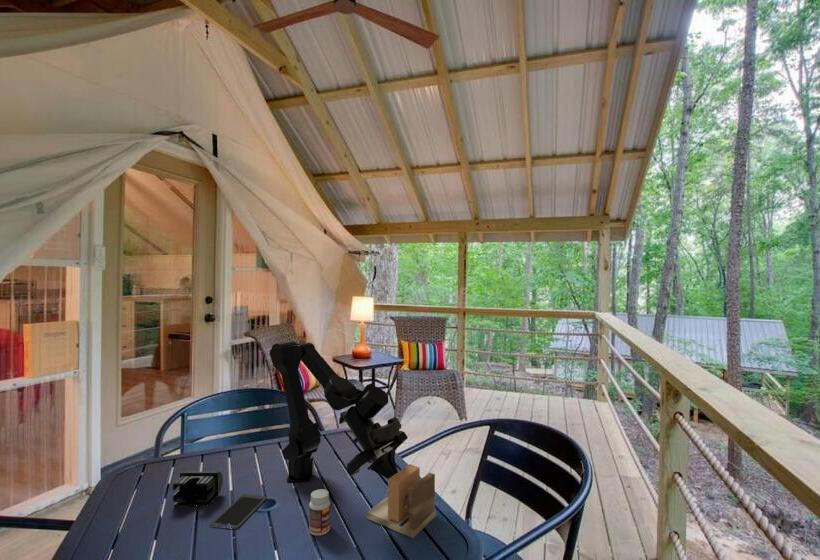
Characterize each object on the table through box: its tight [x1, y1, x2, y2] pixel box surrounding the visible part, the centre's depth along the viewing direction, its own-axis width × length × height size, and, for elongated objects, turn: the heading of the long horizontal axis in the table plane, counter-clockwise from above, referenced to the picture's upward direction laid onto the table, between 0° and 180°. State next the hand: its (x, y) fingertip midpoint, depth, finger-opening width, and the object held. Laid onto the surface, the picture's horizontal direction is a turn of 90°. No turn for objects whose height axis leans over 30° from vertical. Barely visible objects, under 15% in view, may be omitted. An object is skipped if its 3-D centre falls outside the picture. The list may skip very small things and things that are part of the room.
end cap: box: [172, 471, 224, 507], centre depth 107 cm, size 10×7×7 cm
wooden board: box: [387, 463, 421, 522], centre depth 99 cm, size 3×9×9 cm, turn 146°
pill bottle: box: [308, 488, 331, 536], centre depth 94 cm, size 5×5×8 cm
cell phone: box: [209, 493, 268, 531], centre depth 101 cm, size 7×14×1 cm, turn 170°
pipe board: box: [366, 472, 437, 539], centre depth 99 cm, size 13×10×10 cm
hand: (398, 482), depth 100 cm, fingers closed, pressing on wooden board
